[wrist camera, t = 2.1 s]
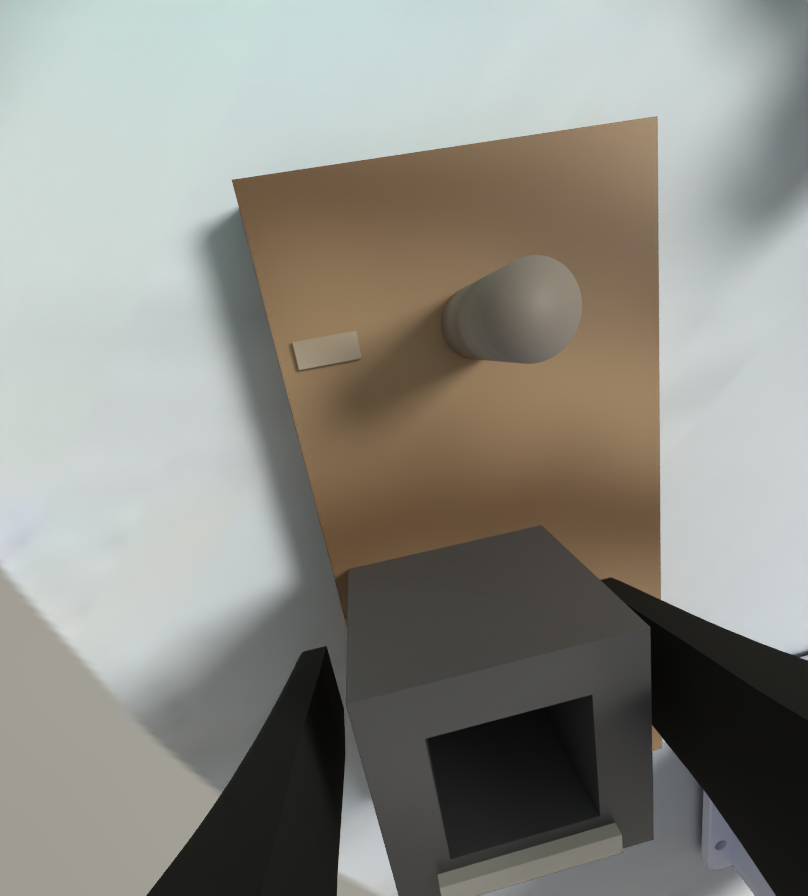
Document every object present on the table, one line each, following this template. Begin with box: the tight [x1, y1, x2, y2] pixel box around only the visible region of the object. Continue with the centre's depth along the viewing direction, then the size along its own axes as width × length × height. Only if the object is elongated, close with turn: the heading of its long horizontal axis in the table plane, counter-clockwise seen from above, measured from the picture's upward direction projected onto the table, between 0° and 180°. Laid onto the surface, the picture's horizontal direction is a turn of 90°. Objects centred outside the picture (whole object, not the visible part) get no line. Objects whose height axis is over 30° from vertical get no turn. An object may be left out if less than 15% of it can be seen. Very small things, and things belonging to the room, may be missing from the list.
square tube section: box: [346, 525, 654, 896], centre depth 9 cm, size 5×5×4 cm
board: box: [232, 116, 662, 751], centre depth 10 cm, size 18×9×4 cm, turn 10°
